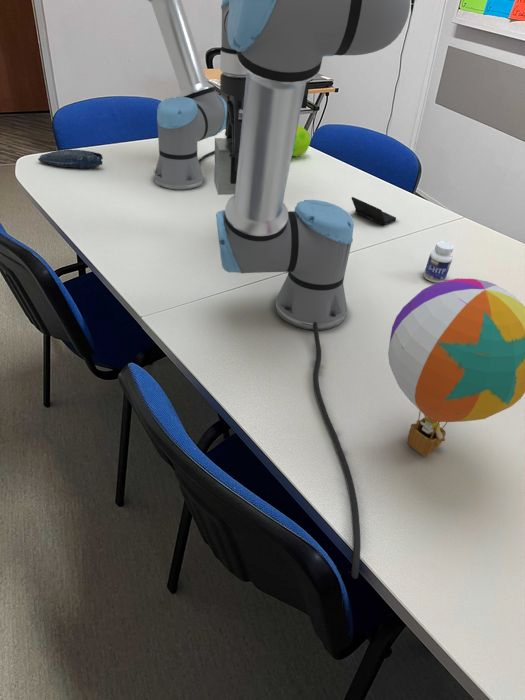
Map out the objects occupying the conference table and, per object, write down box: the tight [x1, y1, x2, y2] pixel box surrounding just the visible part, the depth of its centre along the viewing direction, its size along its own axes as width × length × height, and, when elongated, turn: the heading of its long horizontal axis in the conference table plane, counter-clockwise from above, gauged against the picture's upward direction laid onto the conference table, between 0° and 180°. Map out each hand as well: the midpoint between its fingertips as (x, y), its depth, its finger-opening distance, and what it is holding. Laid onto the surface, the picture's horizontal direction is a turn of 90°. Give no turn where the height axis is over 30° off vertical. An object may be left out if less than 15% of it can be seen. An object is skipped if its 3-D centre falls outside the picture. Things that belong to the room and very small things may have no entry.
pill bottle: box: [423, 240, 454, 284], centre depth 125 cm, size 5×5×9 cm
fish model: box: [37, 149, 104, 170], centre depth 166 cm, size 7×21×5 cm, turn 84°
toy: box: [387, 278, 525, 458], centre depth 75 cm, size 20×20×30 cm
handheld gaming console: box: [351, 196, 397, 226], centre depth 151 cm, size 12×7×10 cm
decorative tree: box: [292, 125, 311, 157], centre depth 186 cm, size 18×10×30 cm
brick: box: [213, 137, 236, 196], centre depth 126 cm, size 8×9×11 cm
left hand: (294, 101), depth 146 cm, fingers open, 13 cm apart
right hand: (233, 175), depth 127 cm, fingers closed on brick, 8 cm apart
